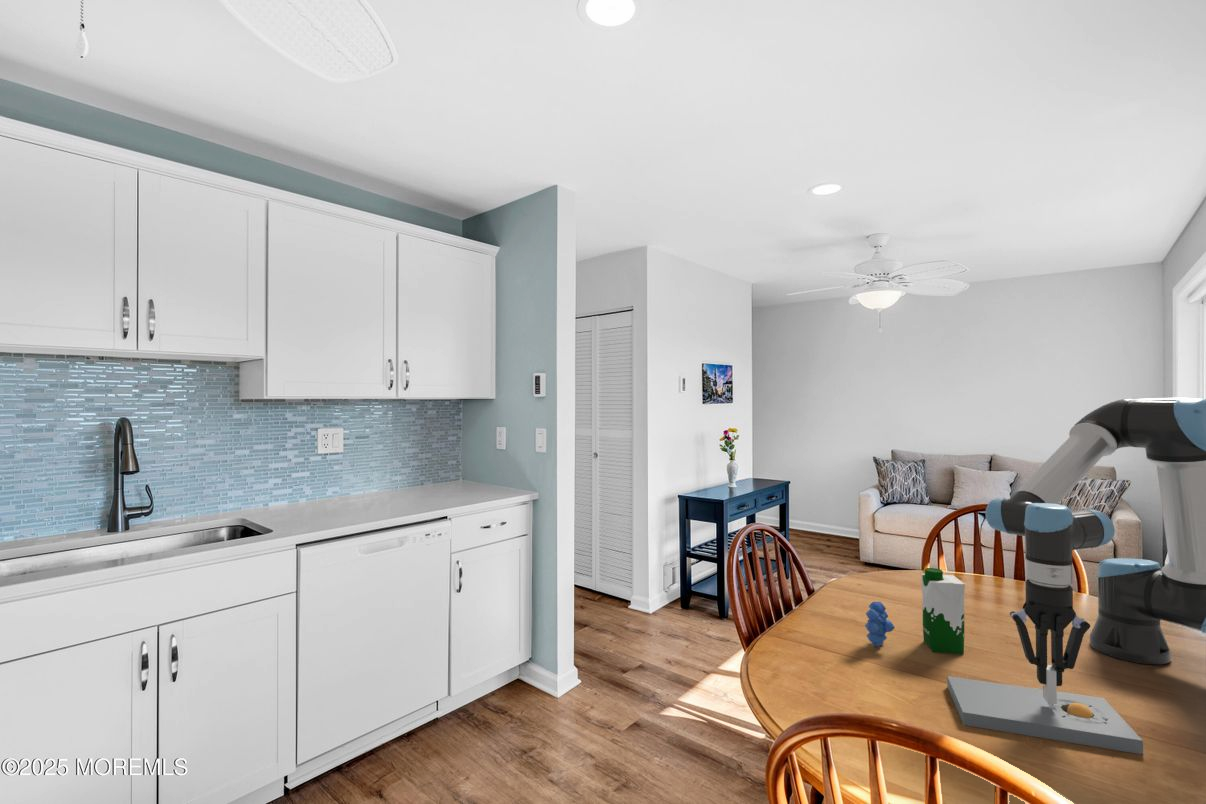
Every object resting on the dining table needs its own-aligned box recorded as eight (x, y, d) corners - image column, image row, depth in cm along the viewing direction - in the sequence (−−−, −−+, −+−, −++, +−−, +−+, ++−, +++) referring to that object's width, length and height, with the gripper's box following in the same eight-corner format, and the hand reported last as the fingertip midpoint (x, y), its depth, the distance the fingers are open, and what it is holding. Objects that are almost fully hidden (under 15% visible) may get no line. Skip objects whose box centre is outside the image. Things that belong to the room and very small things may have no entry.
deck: (1103, 710, 119) (1103, 697, 119) (1143, 754, 105) (1142, 740, 105) (947, 687, 130) (947, 676, 130) (963, 724, 115) (963, 712, 115)
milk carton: (918, 639, 155) (918, 564, 155) (956, 642, 153) (955, 566, 153) (930, 653, 147) (929, 574, 146) (970, 656, 145) (969, 576, 145)
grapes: (888, 658, 144) (888, 610, 144) (860, 651, 149) (859, 604, 148) (901, 643, 153) (901, 598, 153) (874, 636, 157) (873, 592, 157)
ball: (1089, 719, 116) (1086, 699, 116) (1098, 730, 112) (1095, 709, 112) (1065, 718, 117) (1062, 698, 117) (1073, 729, 113) (1070, 709, 113)
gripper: (1015, 584, 115) (1016, 703, 115) (1097, 591, 110) (1098, 715, 110) (1004, 573, 122) (1005, 686, 122) (1081, 580, 117) (1082, 696, 117)
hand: (1049, 700), depth 116 cm, fingers closed
